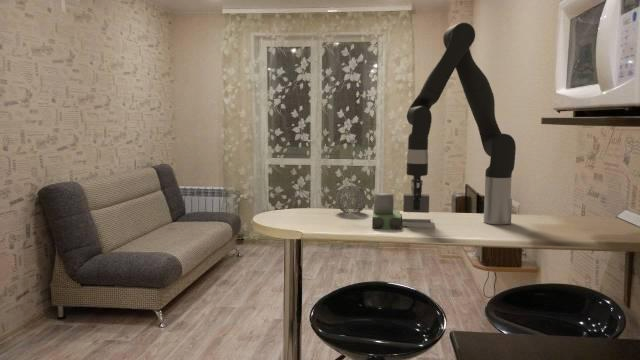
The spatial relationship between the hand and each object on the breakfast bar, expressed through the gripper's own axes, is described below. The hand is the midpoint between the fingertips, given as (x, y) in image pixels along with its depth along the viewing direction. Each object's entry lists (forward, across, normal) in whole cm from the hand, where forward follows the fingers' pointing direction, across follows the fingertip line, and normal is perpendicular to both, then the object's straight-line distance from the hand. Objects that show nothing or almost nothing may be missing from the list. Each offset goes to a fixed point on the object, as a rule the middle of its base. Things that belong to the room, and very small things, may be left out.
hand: (415, 208), depth 194 cm
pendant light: (+6, +22, +25) cm, 34 cm away
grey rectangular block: (+1, 0, 0) cm, 1 cm away
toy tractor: (+6, 0, +6) cm, 8 cm away
